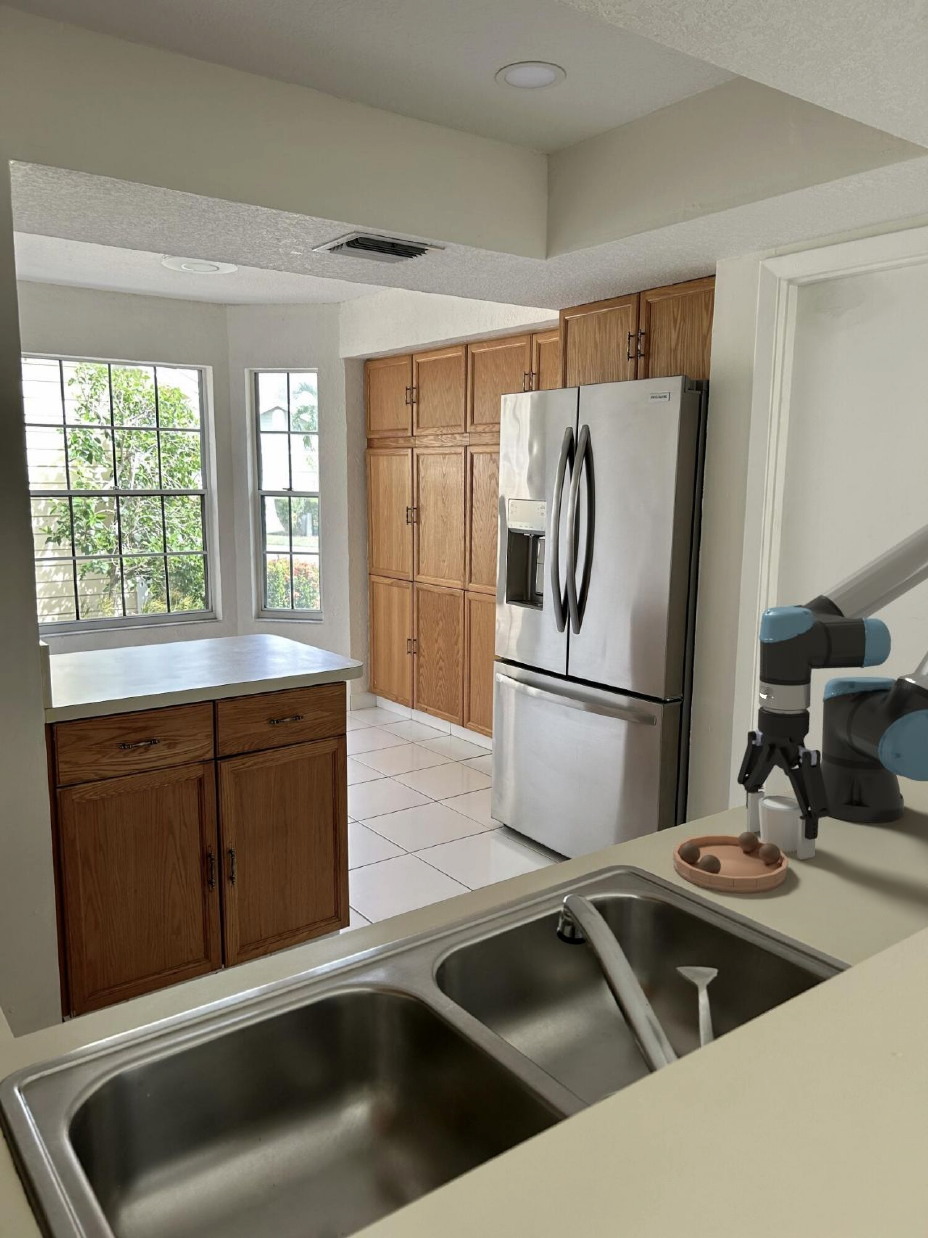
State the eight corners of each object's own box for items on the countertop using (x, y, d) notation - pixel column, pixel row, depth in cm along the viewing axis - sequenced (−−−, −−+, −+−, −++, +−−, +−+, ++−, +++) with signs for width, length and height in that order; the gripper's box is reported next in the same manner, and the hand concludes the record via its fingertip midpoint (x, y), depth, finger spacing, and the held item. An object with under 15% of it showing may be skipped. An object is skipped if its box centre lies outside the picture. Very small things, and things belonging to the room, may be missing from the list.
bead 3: (749, 846, 141) (750, 827, 140) (762, 853, 138) (763, 834, 138) (733, 849, 140) (734, 830, 139) (746, 856, 137) (746, 837, 137)
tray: (739, 841, 145) (739, 828, 145) (811, 881, 130) (811, 866, 130) (653, 858, 140) (653, 844, 139) (717, 901, 125) (717, 886, 124)
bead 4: (771, 857, 136) (771, 838, 136) (784, 865, 134) (785, 845, 133) (754, 861, 135) (755, 842, 135) (768, 869, 132) (768, 849, 132)
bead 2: (712, 869, 133) (712, 850, 132) (725, 877, 130) (725, 857, 129) (694, 873, 132) (695, 853, 131) (707, 881, 129) (707, 861, 128)
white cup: (806, 854, 140) (808, 811, 139) (759, 852, 141) (760, 808, 140) (799, 837, 146) (800, 796, 145) (754, 835, 148) (755, 794, 147)
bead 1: (692, 857, 137) (692, 838, 137) (704, 864, 134) (704, 845, 134) (675, 860, 136) (675, 841, 136) (687, 868, 133) (687, 848, 133)
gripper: (716, 694, 150) (714, 822, 153) (819, 728, 128) (813, 876, 131) (754, 690, 153) (750, 815, 156) (860, 722, 131) (854, 867, 134)
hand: (779, 843), depth 144 cm, fingers open, 11 cm apart
